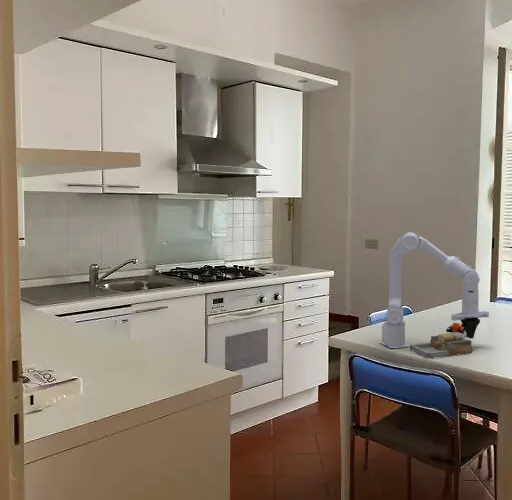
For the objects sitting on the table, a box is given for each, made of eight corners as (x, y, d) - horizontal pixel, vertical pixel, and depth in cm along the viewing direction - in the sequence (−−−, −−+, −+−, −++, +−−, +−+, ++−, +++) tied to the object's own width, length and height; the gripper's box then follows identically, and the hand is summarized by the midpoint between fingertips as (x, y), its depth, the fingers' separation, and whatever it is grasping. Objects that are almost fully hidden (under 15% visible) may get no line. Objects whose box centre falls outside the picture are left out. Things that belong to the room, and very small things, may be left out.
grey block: (448, 341, 208) (448, 333, 208) (458, 339, 209) (458, 332, 209) (455, 343, 204) (455, 335, 204) (464, 342, 205) (464, 334, 205)
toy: (443, 324, 222) (451, 316, 234) (443, 339, 222) (451, 330, 235) (464, 326, 218) (471, 317, 230) (464, 341, 218) (471, 332, 231)
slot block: (430, 347, 211) (430, 336, 210) (452, 345, 213) (452, 333, 213) (448, 356, 199) (448, 344, 199) (472, 353, 201) (472, 341, 201)
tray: (410, 350, 209) (410, 344, 208) (430, 347, 211) (430, 342, 211) (427, 359, 197) (427, 353, 197) (448, 356, 199) (448, 350, 199)
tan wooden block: (438, 342, 207) (438, 334, 206) (447, 341, 208) (447, 333, 207) (444, 345, 203) (444, 337, 203) (454, 343, 204) (454, 335, 204)
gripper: (459, 305, 201) (459, 342, 202) (494, 302, 204) (494, 338, 206) (448, 301, 208) (448, 337, 209) (481, 298, 211) (481, 333, 212)
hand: (470, 337), depth 208 cm, fingers closed
